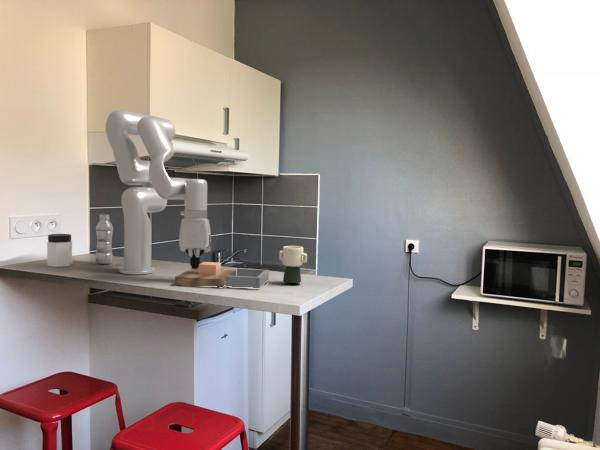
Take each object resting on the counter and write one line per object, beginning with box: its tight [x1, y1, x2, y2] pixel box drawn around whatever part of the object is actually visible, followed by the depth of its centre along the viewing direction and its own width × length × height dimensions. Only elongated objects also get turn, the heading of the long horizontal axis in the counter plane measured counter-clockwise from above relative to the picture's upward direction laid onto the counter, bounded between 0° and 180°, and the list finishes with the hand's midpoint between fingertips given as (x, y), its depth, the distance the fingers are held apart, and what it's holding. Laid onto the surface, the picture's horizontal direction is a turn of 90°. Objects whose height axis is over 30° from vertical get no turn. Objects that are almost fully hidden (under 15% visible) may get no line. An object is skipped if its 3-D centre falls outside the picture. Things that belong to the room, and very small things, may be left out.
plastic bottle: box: [95, 213, 114, 265], centre depth 201 cm, size 6×7×20 cm
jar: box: [46, 233, 73, 268], centre depth 195 cm, size 9×8×12 cm
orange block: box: [199, 261, 222, 276], centre depth 172 cm, size 6×6×4 cm
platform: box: [174, 268, 237, 287], centre depth 172 cm, size 16×18×3 cm
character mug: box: [278, 245, 308, 284], centre depth 174 cm, size 11×7×13 cm, turn 62°
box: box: [225, 267, 270, 288], centre depth 171 cm, size 11×16×4 cm
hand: (195, 268), depth 173 cm, fingers closed
